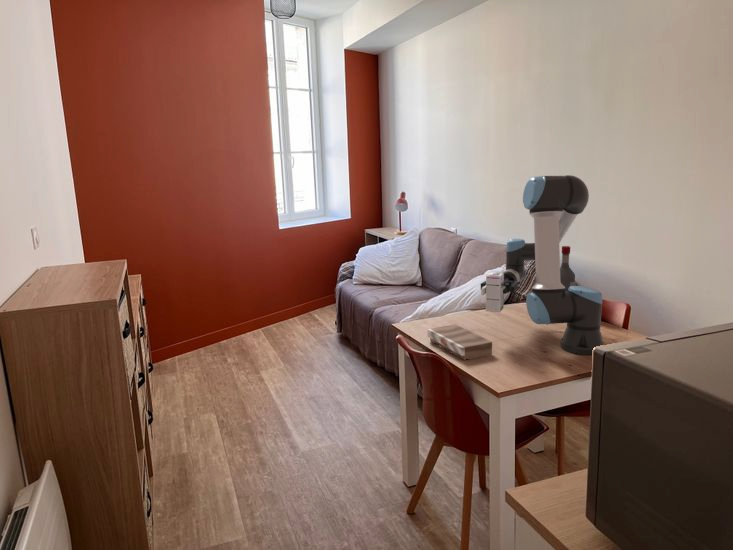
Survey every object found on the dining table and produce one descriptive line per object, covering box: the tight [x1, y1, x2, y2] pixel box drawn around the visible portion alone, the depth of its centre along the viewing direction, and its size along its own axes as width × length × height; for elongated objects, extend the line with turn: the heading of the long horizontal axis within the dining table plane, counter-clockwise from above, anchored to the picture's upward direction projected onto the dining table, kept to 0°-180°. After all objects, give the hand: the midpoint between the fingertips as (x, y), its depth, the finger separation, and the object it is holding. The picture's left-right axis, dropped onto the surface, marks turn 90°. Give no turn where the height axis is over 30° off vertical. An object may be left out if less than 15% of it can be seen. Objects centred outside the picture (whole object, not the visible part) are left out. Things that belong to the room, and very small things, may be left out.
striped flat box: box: [427, 323, 493, 361], centre depth 204 cm, size 24×14×5 cm, turn 24°
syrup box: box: [485, 272, 505, 313], centre depth 206 cm, size 6×6×14 cm
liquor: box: [560, 245, 576, 292], centre depth 247 cm, size 9×9×30 cm
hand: (490, 292), depth 202 cm, fingers closed on syrup box, 6 cm apart
